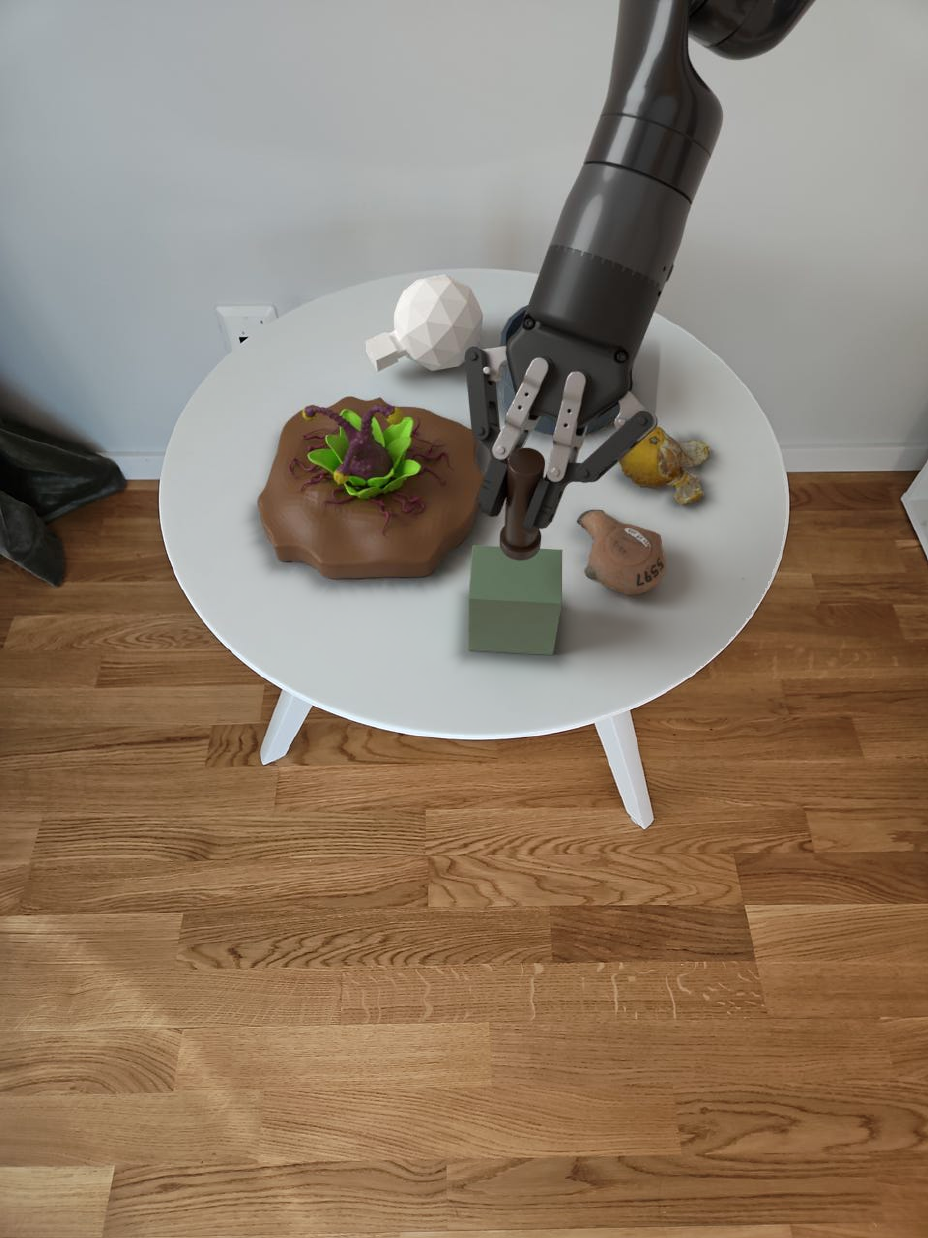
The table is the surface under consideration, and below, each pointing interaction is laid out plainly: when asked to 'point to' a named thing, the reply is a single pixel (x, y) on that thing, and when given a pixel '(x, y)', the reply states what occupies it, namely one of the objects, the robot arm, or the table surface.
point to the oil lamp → (622, 554)
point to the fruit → (666, 464)
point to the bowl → (508, 390)
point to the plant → (370, 489)
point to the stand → (514, 601)
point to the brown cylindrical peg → (521, 503)
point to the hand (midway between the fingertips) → (510, 522)
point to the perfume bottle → (430, 325)
